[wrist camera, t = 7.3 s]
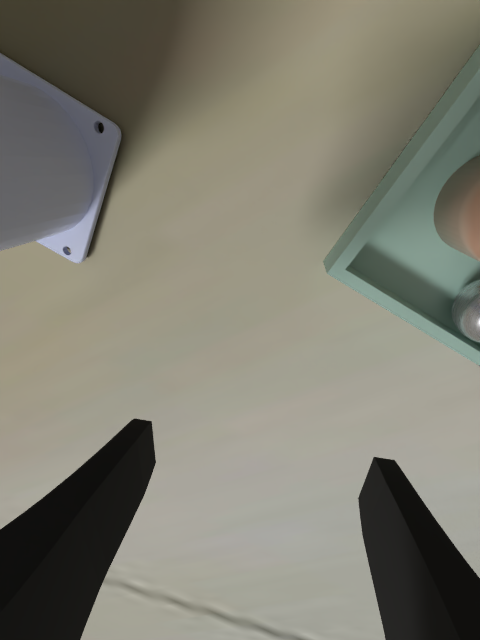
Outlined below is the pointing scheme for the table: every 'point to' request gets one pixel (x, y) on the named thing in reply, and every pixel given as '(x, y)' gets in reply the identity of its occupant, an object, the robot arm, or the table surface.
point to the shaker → (460, 210)
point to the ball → (468, 311)
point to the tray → (417, 223)
